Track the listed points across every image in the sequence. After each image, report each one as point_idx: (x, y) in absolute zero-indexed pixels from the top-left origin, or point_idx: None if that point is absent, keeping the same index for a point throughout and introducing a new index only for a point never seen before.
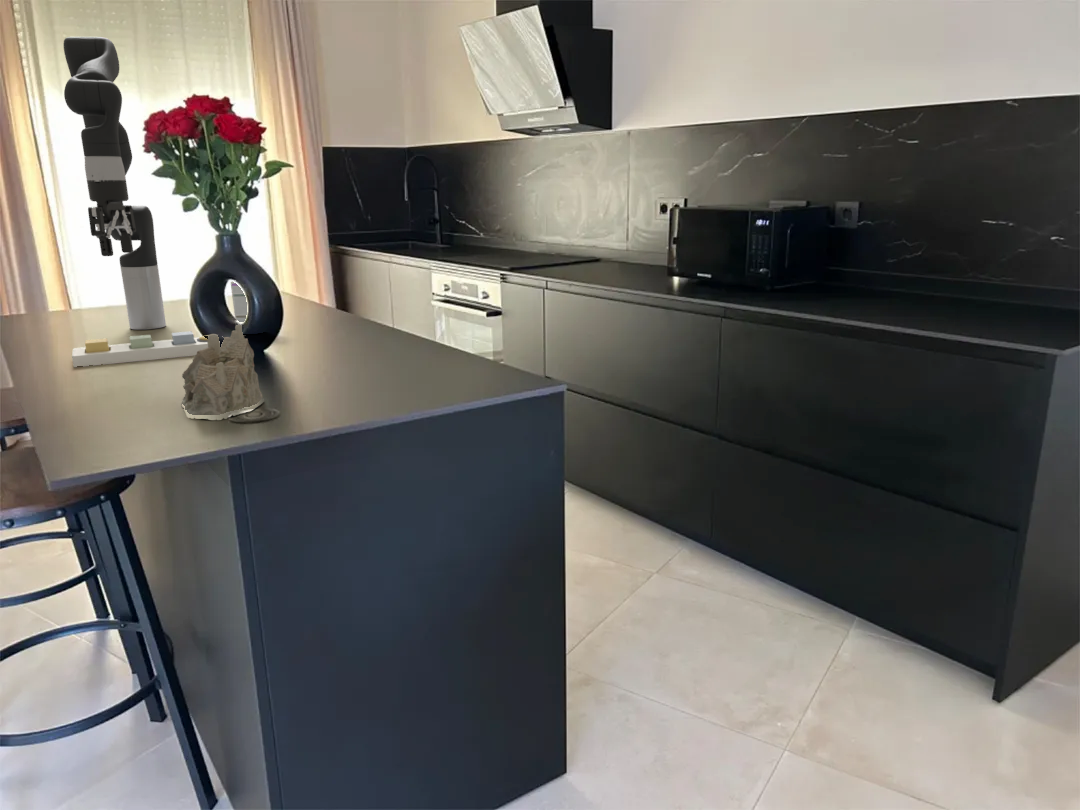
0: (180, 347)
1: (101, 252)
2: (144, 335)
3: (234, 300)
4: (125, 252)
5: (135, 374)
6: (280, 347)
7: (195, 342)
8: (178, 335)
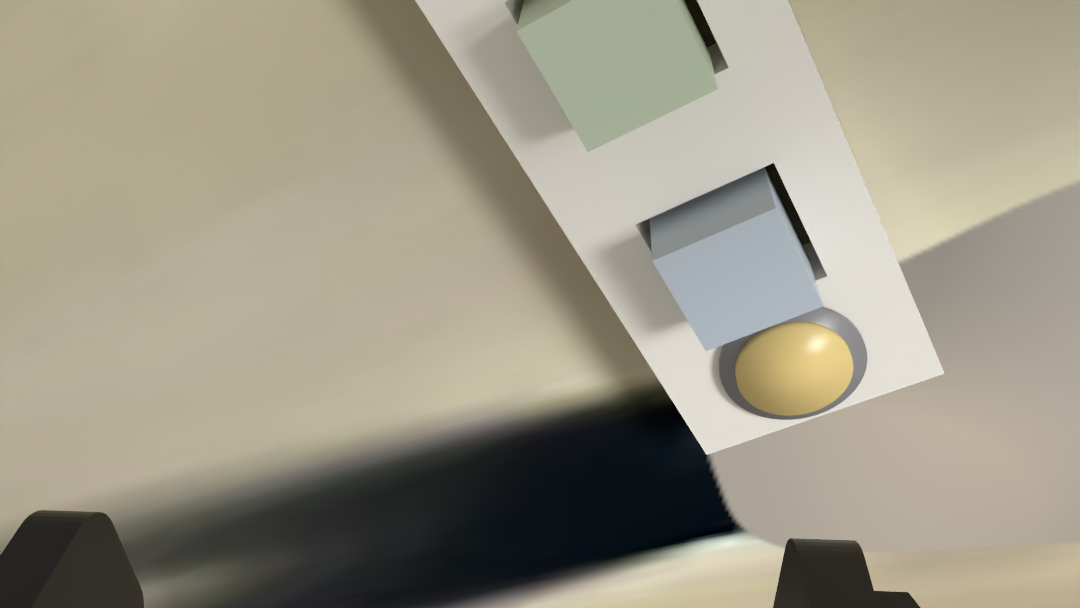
0: (595, 276)
1: (11, 547)
2: (684, 60)
3: None
4: (786, 564)
5: (160, 190)
6: None
7: None
8: (668, 285)
